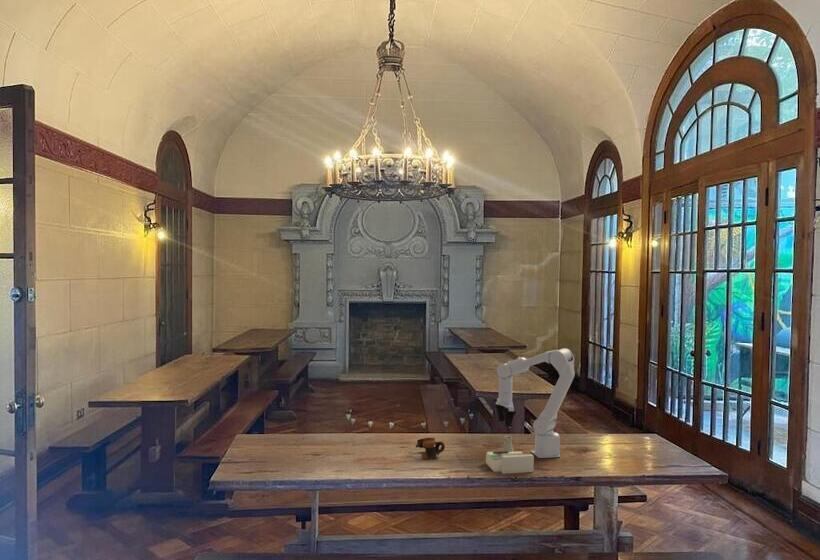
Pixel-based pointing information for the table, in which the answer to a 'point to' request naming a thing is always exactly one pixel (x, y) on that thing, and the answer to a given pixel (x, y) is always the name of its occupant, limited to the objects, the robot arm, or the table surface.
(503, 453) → the pad
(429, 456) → the pottery mug
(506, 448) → the grey vase
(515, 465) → the gauge frame
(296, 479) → the table surface
